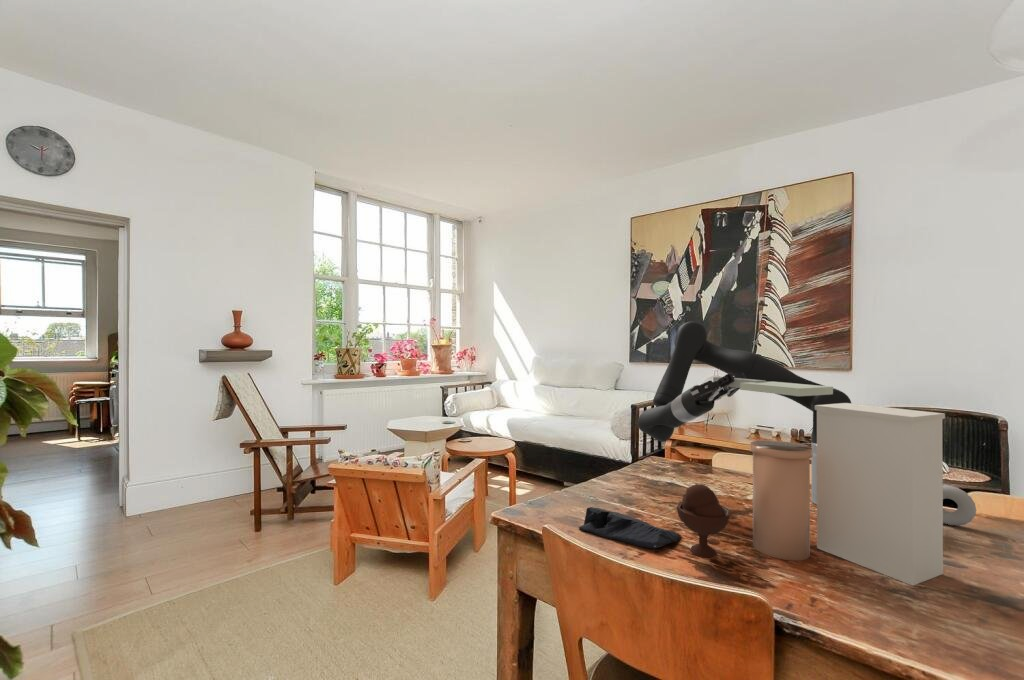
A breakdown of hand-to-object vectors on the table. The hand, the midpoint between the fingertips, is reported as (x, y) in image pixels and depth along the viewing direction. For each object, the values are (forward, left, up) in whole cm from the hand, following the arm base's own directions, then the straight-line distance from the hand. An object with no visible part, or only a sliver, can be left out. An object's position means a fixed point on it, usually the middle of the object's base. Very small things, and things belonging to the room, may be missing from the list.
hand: (738, 376), depth 115 cm
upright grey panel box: (-14, +23, -38) cm, 46 cm away
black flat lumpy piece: (+25, -10, -38) cm, 47 cm away
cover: (0, +7, -3) cm, 7 cm away
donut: (-53, +19, -38) cm, 68 cm away
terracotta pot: (0, +11, -38) cm, 39 cm away
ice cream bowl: (+17, +5, -38) cm, 42 cm away
